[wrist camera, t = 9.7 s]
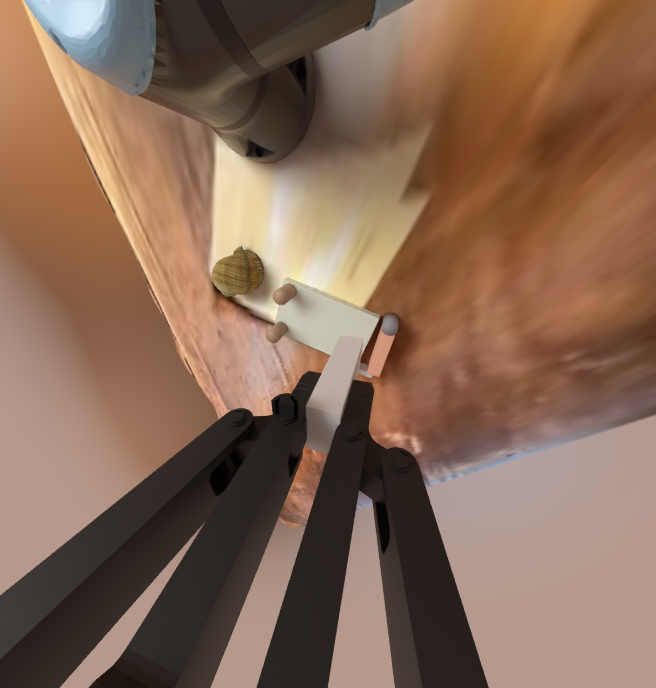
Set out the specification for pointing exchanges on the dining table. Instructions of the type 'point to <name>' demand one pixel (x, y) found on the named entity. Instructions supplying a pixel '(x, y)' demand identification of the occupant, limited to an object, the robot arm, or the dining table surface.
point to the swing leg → (383, 344)
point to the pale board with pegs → (319, 319)
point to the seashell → (238, 273)
